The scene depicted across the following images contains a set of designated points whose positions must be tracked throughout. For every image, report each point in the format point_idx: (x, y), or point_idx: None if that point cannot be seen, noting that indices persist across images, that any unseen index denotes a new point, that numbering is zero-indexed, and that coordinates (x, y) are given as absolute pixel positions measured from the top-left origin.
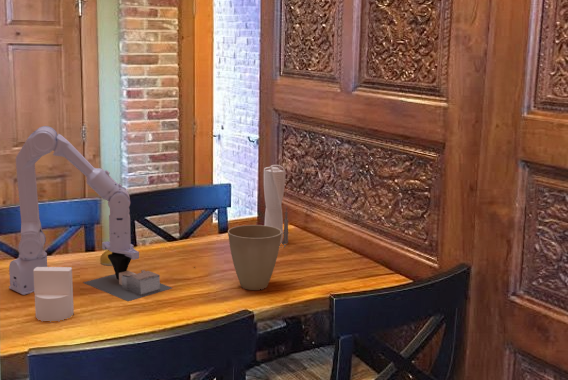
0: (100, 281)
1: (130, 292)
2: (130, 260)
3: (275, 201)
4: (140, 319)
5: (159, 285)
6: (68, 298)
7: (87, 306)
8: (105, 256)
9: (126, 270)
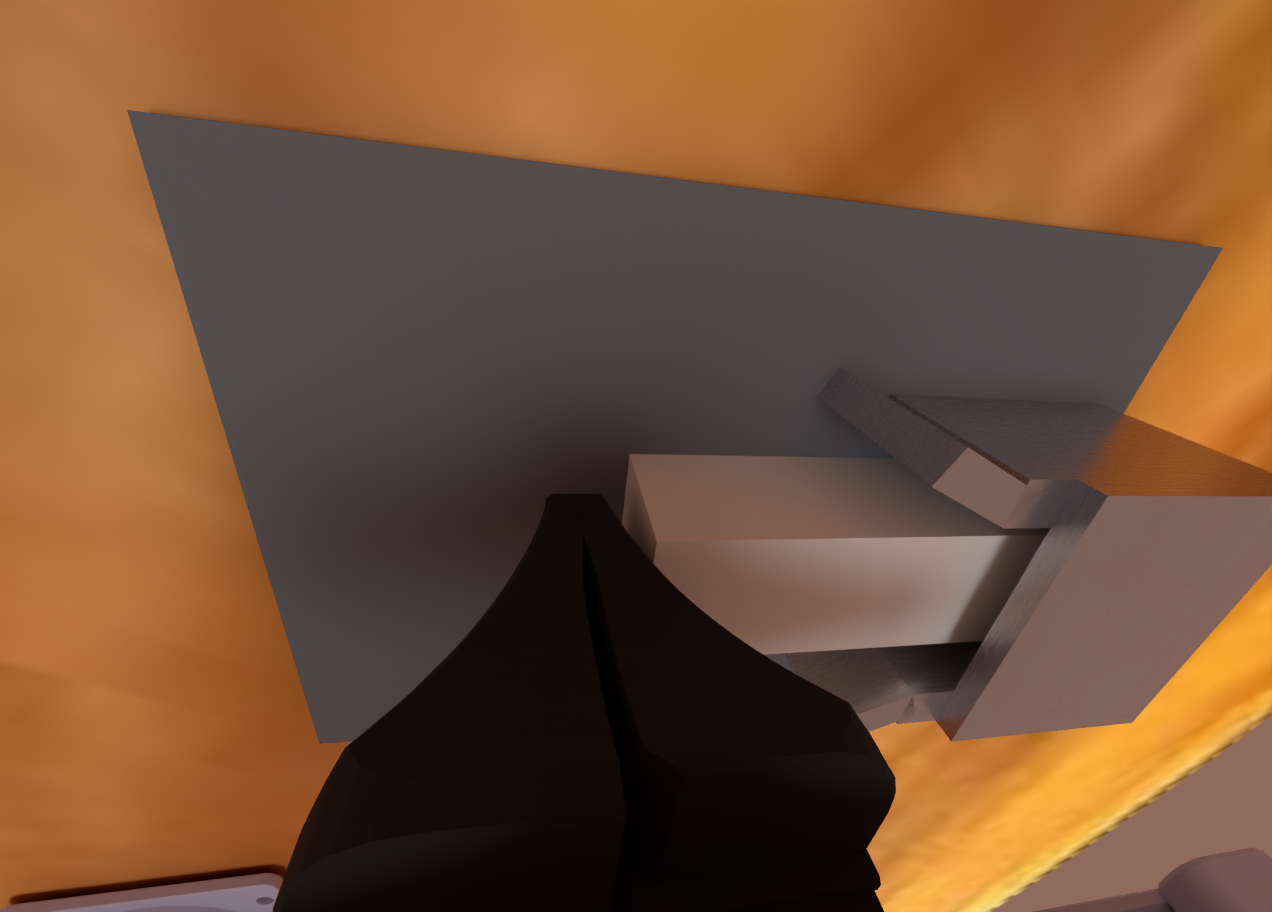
0: (404, 637)
1: None
2: (768, 665)
3: None
4: (1124, 732)
5: (1152, 429)
6: None
7: None
8: None
9: (640, 553)
